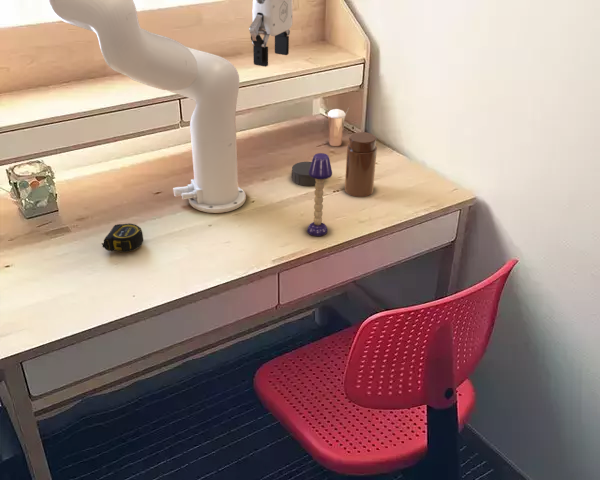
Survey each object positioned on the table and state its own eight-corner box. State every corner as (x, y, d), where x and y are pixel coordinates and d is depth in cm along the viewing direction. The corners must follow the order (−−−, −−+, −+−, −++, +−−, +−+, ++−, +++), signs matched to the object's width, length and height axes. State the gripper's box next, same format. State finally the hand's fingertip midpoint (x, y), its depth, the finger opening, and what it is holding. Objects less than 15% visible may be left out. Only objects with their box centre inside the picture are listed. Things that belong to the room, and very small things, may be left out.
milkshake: (347, 147, 176) (349, 110, 170) (326, 147, 176) (328, 109, 170) (346, 140, 180) (348, 103, 174) (326, 140, 180) (328, 103, 174)
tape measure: (116, 236, 138) (114, 220, 136) (149, 239, 137) (147, 223, 135) (103, 254, 132) (100, 237, 130) (136, 257, 132) (134, 241, 129)
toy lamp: (305, 225, 143) (307, 151, 133) (327, 224, 144) (330, 150, 134) (308, 237, 139) (311, 161, 129) (331, 235, 140) (335, 160, 130)
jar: (351, 198, 153) (355, 144, 146) (339, 186, 158) (342, 133, 151) (378, 194, 155) (383, 140, 148) (365, 182, 160) (369, 129, 153)
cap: (298, 170, 165) (298, 159, 163) (328, 175, 163) (328, 164, 161) (286, 182, 159) (286, 171, 158) (316, 188, 157) (317, 177, 155)
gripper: (268, -18, 129) (268, 72, 139) (306, -32, 142) (304, 52, 152) (234, -22, 132) (236, 67, 142) (274, -35, 145) (274, 47, 155)
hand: (271, 59), depth 147 cm, fingers open, 9 cm apart
